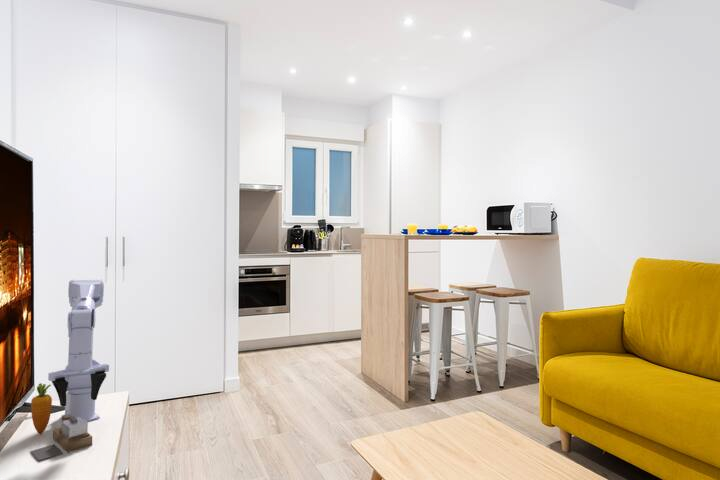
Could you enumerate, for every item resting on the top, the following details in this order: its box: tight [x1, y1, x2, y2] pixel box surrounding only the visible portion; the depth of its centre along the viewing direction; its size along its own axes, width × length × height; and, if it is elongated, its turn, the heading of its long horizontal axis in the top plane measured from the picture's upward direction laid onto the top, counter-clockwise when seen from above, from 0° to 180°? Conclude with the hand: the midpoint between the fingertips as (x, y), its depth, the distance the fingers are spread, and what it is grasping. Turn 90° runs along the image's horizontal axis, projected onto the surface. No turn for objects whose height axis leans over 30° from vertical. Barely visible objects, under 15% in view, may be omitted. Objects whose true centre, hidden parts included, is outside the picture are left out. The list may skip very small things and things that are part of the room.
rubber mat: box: [30, 443, 64, 462], centre depth 119 cm, size 7×6×1 cm
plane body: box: [52, 414, 93, 453], centre depth 126 cm, size 12×6×6 cm, turn 51°
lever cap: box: [61, 416, 89, 440], centre depth 125 cm, size 6×4×4 cm
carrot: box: [30, 382, 53, 436], centre depth 130 cm, size 5×5×15 cm
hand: (78, 402), depth 124 cm, fingers open, 7 cm apart
